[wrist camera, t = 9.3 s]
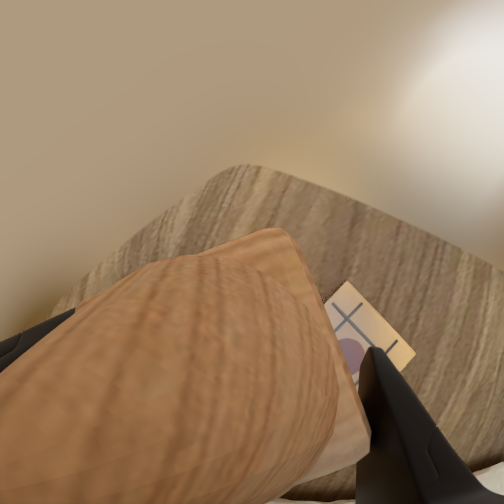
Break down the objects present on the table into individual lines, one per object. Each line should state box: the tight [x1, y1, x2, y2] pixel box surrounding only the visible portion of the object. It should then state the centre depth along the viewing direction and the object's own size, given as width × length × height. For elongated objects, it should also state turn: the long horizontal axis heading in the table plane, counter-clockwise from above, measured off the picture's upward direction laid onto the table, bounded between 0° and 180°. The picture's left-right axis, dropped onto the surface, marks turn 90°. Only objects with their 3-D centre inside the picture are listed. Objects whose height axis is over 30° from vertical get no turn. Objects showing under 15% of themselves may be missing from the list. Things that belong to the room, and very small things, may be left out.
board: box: [323, 281, 416, 392], centre depth 21 cm, size 8×8×1 cm
